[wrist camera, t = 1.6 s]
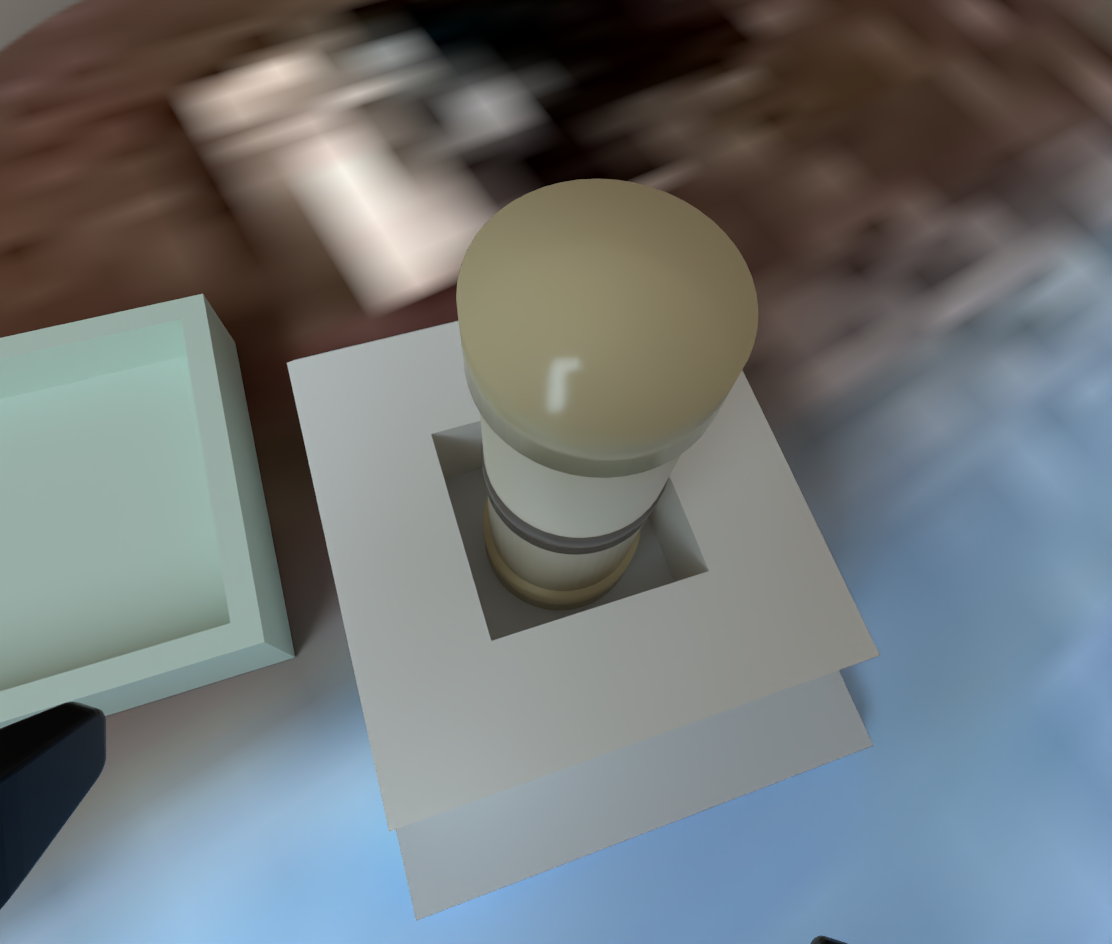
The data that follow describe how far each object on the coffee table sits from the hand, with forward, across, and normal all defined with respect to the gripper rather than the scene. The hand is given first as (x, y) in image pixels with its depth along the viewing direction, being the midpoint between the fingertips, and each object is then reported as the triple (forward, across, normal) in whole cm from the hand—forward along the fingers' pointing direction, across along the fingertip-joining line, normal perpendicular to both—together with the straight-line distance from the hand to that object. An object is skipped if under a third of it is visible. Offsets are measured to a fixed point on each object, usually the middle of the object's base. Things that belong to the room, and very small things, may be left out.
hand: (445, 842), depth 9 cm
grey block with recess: (+15, 0, +4) cm, 16 cm away
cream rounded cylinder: (+15, 0, +3) cm, 15 cm away
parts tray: (+12, +15, +7) cm, 21 cm away
